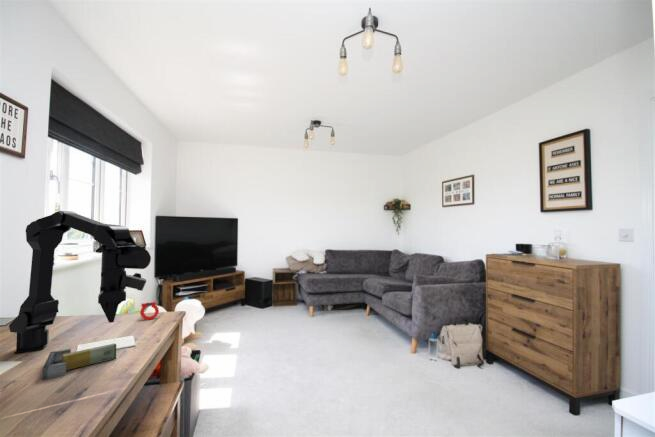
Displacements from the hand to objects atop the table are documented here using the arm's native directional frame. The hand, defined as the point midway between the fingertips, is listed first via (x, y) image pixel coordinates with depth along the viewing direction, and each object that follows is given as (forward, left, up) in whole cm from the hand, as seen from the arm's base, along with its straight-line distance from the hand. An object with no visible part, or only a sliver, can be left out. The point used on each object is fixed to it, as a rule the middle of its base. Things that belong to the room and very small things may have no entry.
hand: (111, 320), depth 88 cm
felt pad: (-1, +11, -11) cm, 15 cm away
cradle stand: (-12, 0, -11) cm, 16 cm away
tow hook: (+13, +37, -13) cm, 42 cm away
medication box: (-5, -1, -11) cm, 12 cm away
